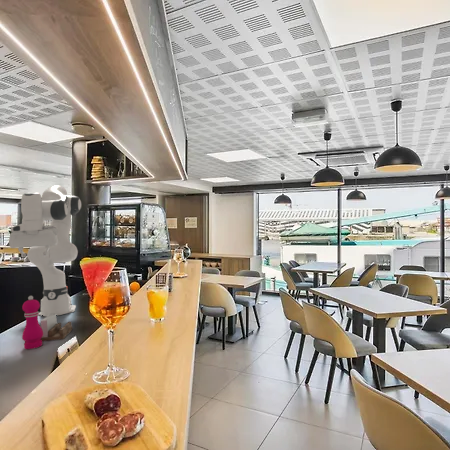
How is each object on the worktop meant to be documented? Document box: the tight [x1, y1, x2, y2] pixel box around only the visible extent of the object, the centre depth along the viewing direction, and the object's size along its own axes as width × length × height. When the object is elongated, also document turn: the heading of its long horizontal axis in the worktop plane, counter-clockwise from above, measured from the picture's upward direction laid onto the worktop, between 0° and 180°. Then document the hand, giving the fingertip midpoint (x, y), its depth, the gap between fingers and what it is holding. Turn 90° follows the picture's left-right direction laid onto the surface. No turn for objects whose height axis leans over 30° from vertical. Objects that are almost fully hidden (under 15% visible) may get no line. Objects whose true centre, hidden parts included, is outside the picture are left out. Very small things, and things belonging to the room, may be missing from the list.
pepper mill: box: [21, 295, 43, 350], centre depth 135 cm, size 7×7×20 cm
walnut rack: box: [40, 321, 74, 342], centre depth 148 cm, size 14×15×4 cm
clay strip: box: [40, 313, 58, 338], centre depth 148 cm, size 12×2×7 cm, turn 9°
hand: (34, 256), depth 160 cm, fingers open, 8 cm apart
